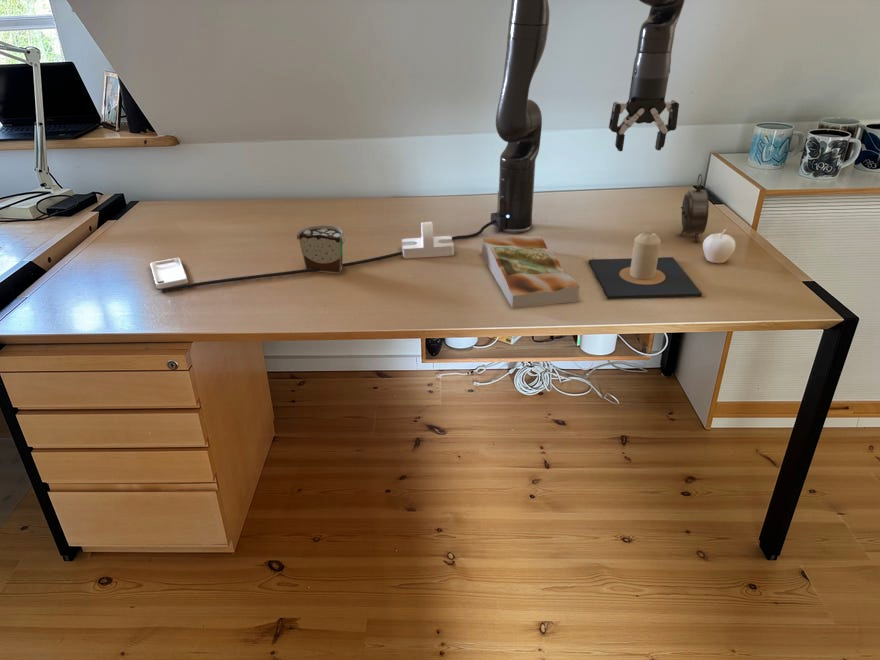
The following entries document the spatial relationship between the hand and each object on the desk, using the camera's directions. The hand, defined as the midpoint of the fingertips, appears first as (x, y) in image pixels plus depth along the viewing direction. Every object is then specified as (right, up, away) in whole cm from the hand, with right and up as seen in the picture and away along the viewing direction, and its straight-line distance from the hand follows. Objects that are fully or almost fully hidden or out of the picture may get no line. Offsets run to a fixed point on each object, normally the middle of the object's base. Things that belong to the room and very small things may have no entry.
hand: (638, 150), depth 153 cm
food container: (-72, -25, +15) cm, 78 cm away
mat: (+1, -29, +1) cm, 29 cm away
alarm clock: (+21, -16, +21) cm, 34 cm away
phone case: (-112, -27, +15) cm, 117 cm away
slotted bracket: (-47, -20, +20) cm, 55 cm away
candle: (+1, -29, +1) cm, 29 cm away
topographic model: (-25, -28, +5) cm, 38 cm away
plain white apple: (+21, -24, +8) cm, 33 cm away
